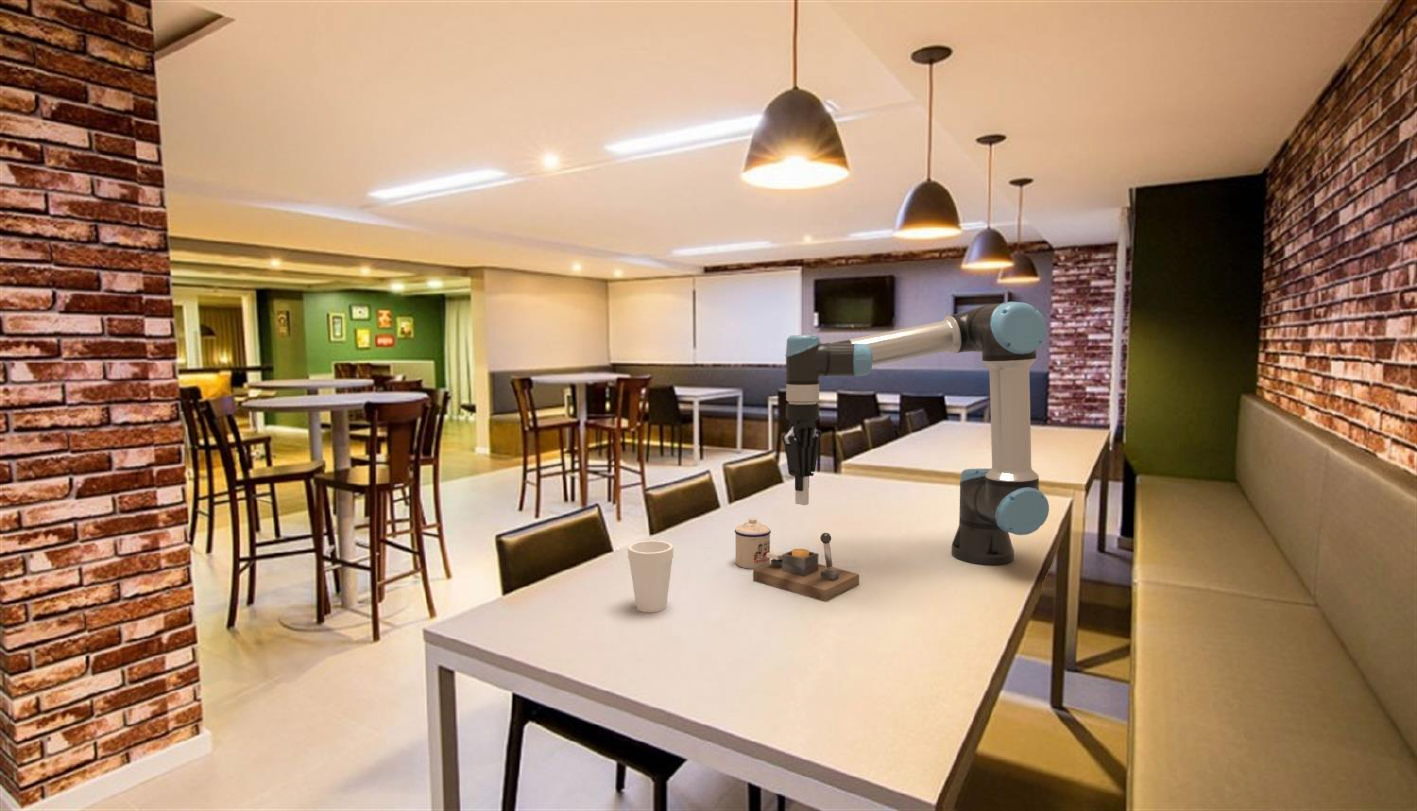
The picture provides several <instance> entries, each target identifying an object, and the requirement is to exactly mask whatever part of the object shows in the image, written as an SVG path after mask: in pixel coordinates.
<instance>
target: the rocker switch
mask: <svg viewBox="0 0 1417 811" xmlns="http://www.w3.org/2000/svg"><path fill="white" fill-rule="evenodd" d="M785 553H787V551H774V552H771V551H770V553H767V555H766V557H768V558H770V559H771V560H772V559H775V560H781V559H782V554H785Z"/></svg>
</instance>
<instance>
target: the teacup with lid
mask: <svg viewBox="0 0 1417 811" xmlns="http://www.w3.org/2000/svg"><path fill="white" fill-rule="evenodd" d="M771 532H772V531H771V528H770V527H769V526H768V525H766V524H762V523H760V522H759V521H758V519H757V518H756V517H750V518H748V521H747V522H744V523H743V524H740V525H738V526H736V527H735V529H734V533H735V565H736V566H738V567H739V568H742V567H743V569H747V568H748V569H749V570H755V569H757V568H760V567H762V566H765V565H768V564H770V563H771V560H770V559H771V558H768V557H766V555H767V553H771V549H770V548H771V546H770V544H771V542H770V541H771Z"/></svg>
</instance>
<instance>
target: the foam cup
mask: <svg viewBox="0 0 1417 811" xmlns="http://www.w3.org/2000/svg"><path fill="white" fill-rule="evenodd" d="M627 558H628V561H629V566H630V574H631V580H632V587H633V588H632V589H633V594H634V601H635V606H636V609H637V611H640V612H643V613H658V612H661V611H664V610H665V609H666V607H667V603H668V597H669V596H668V595H669V589H670V579H671V572H672V564H673V559H674V546H673V544H672V543H670V542H667V541H665V540H641V541H637V542H633V543H631V544H629V545H628V547H627Z"/></svg>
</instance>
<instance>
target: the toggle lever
mask: <svg viewBox="0 0 1417 811" xmlns="http://www.w3.org/2000/svg"><path fill="white" fill-rule="evenodd" d="M830 534H831V533H828V532H822V533H821V535H820V537H819V539H820V541H821V542H822V543H823V545H822V546H823V550H824V558H825V559H824V560H825V566H826V567H827V568H828V569H831V568H832V567H833V558H832V552H831V546H830V545H831V544H830V543H831V540H832V536H831V535H830Z"/></svg>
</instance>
